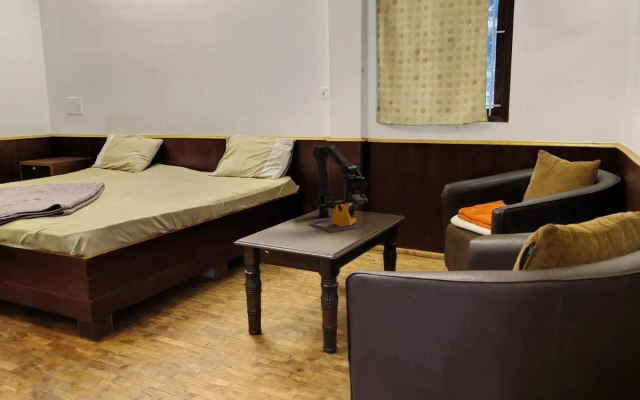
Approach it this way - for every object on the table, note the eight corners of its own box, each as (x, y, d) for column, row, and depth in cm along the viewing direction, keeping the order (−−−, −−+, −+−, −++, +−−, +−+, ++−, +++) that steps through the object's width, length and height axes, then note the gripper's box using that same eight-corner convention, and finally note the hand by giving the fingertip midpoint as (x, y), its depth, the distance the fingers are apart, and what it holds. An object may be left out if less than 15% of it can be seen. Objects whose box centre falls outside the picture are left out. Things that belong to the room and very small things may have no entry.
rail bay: (308, 224, 270) (308, 222, 270) (336, 220, 279) (336, 217, 278) (330, 232, 252) (329, 230, 252) (358, 227, 261) (358, 225, 261)
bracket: (357, 222, 268) (355, 200, 265) (350, 227, 262) (348, 205, 259) (339, 220, 274) (337, 199, 270) (332, 224, 268) (330, 203, 264)
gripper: (344, 193, 256) (345, 223, 259) (373, 188, 265) (374, 217, 268) (332, 190, 265) (333, 219, 268) (361, 186, 275) (362, 214, 278)
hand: (351, 218), depth 270 cm, fingers closed, pressing on bracket
